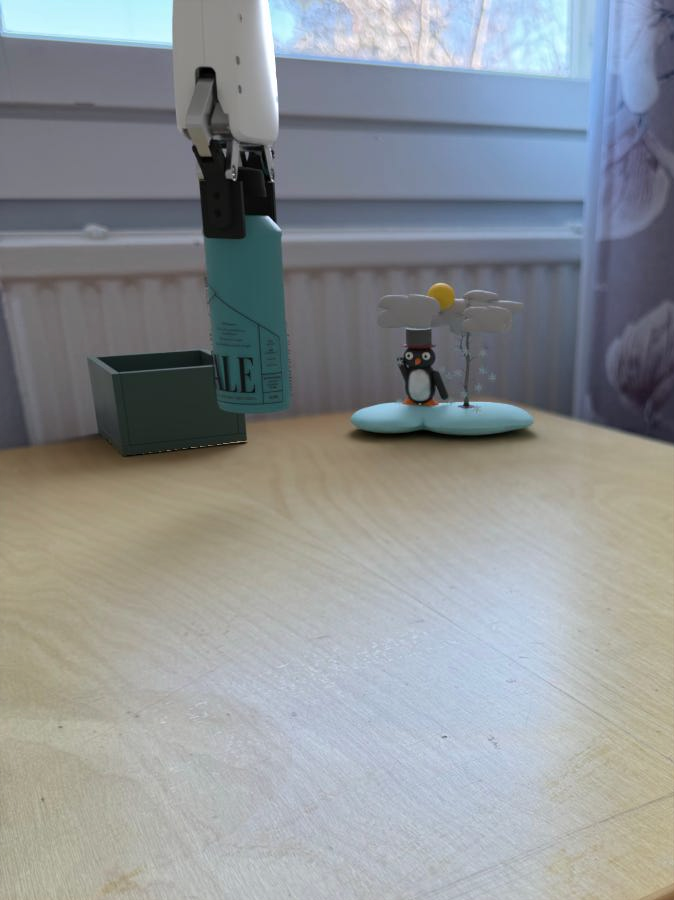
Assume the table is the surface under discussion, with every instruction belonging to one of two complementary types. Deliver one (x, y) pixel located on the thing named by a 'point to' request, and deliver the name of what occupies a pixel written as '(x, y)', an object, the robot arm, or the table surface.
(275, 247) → the beverage bottle
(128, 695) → the table surface
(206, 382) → the holder bin
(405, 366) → the penguin figurine
